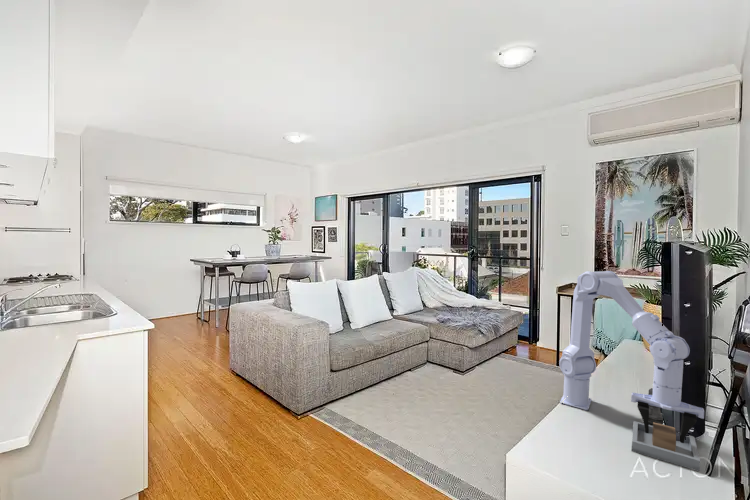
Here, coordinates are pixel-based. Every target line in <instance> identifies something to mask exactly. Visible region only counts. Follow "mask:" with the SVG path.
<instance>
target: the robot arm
mask: <svg viewBox="0 0 750 500" xmlns="http://www.w3.org/2000/svg"><path fill="white" fill-rule="evenodd" d="M576 283H577V284H576V286H575V287H574V290H573V294H572V295H573V299H572V308H571V309H572V312H571V324H570V326H571V327H570V336H569V338H570V339H569V340H570V341H569V345H567V346H566V347H565V348H564V349H563V350H562V353H561V357H560V359H559V361H558V362H559V363H558V364H559V369H560V371H561V372H562V375H564V377H563V392H562V393H563V395H562V396H561V398H560V401H559V403H560V404H562V403H563V402H564V403H563V404H562V405H566V406H569V407H574V408H578V409H581V410H585V411H588V410H589V409H590V407H591V403H592V398H591V397H589V396H590V379H591V377H592V374H593V373H595V371H596V370H597V363H596V359H595V352H594V351H593V350H592V349H591V348H590V345H591V344H590V342H591V330H592V329H591V328H592V319H593V318H592V317H593V316H592V315H593V304H594V300H595V299H596V298H598V297H599V296H605V297H610V298H611V299H613V301H614V302H616V304H617V305H619V306H620V307H621V308H622V309H623V310H624V311H625V312H626V314H627V315H629V316H630V317H631V318H632V321H631V324H632V326H633V328H634V329H636V331H637V332H638V333H639V334H640V335H641V337H642V338H643V339H644V340H645V341H646V342H647V344H649V346H648V347H649V348H648V349H649V352H650V354H651V356H652V358H653V364H654V365H653V366H654V367H653V379H652V380H653V381H652V388H653V394H652V395H648V394H645V393H644V394H643V393H637V392H631V399H630V402H632V403H637V406H636V407H637V410H638V411H639V414H640V416H641V418H642V422H644V426H645V433H649V424H648V419H649V405H651V406H656V407H660V409H663V410H668V411H673V412H677V413H681V423H680V424H681V425H680V426H681V427H680V431H679V433H680V442H681V443H684V440H685V437H686V435H688V434H689V431H690V430H691V429H692V428H693V427H694V426H695V424H696V423H697V420H698V419H699V418H700V419H702V420H704V419H705V409H704V408H703V407H700V406H696V405H694V404H693V405H692V404H689V403H686V402H683V401H682V388H683V374H684V359H686V358H688V357H689V355H690V351H691V350H690V349H691V348H690V346H689V344H688V343H687V341H686V340H685V338H683V337H681V336H679V335H674V333H673V332H672V331H670V330H669V329H668V327H666V326H665V325H664V324H663V323H662V322H661V321H660V319H661V318H660V317H659V316H658V314H654V313H652V312H648V311H645V310H644V308H642V306H640V305H641V304H639V303H638V301H637V300H636V299H635V298H634V297H633V296H632V294H631V293H630V292H629V291H628V289H627V288H626V287H625V286H624V281H623V280H622V278H620V277H619V276H618V275H617V274H616V273H615V272H614V271H612V270H604V271H592V270H591V271H589V270H588V271H584V272H582V273H581V274H579V275H578V276H577V281H576ZM662 324H663V326H662ZM567 396H568V397H567ZM565 398H566V399H565ZM564 399H565V400H564ZM563 400H564V401H563ZM562 401H563V402H562ZM561 402H562V403H561ZM697 418H698V419H697Z"/></svg>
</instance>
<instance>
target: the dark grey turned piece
mask: <svg viewBox="0 0 750 500" xmlns="http://www.w3.org/2000/svg"><path fill="white" fill-rule="evenodd" d="M652 394H653V387H652V388H649V389H648V393H647V395H652ZM662 414H663V413H662V412H661V408H660V407H656V406H651V405H649V419H648V424H649V425H651V426H653V422H654V423H658V424H662V425H664V423H665V422H663V418H662ZM641 423H644V422H643V421H642V422H641Z"/></svg>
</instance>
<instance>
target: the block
mask: <svg viewBox="0 0 750 500" xmlns="http://www.w3.org/2000/svg"><path fill="white" fill-rule="evenodd" d="M676 432H677V431H676V427H673V426H670V425H666V424H658V423H654V422H653V434H652V444H653V446H657V447H660V448H664V449H667V450H671V451H674V452H675V450H676Z"/></svg>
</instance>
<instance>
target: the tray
mask: <svg viewBox="0 0 750 500" xmlns="http://www.w3.org/2000/svg"><path fill="white" fill-rule="evenodd" d="M632 424H633V425H632V438H631V439H632V440H631V441H632V442H631V452H634V453H638V454H641V455H644V456H648V457H650V458H654V459H657V460H661V461H664V462H667V463H670V464H674V465H677V466H681V467H684V468H687V469H690V470H694V471H698V472H700V471H701V469H700V468H701V458H700V455H699V451H698V446H697V442H696V438H695V436H693V435H689V434H688V435H689V436H686V440H684V443H681V442H680V441H676V450H675V452H674V451H671V450H667V449H664V448H660V447H657V446H653V444H652V434H653V426H651V425H649V433H645V426H644V423H642V422H640V421H636V420H633V423H632Z"/></svg>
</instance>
